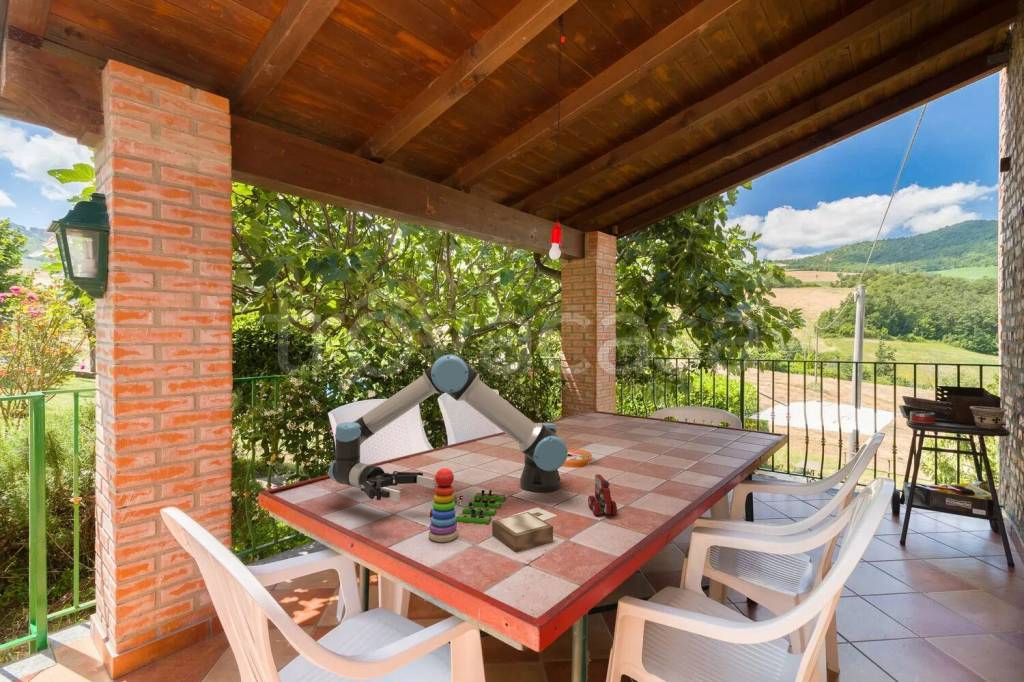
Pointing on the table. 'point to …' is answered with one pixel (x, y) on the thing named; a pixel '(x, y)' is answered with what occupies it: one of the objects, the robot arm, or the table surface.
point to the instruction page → (539, 513)
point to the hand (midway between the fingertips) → (417, 489)
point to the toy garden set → (479, 508)
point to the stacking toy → (443, 509)
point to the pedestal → (522, 531)
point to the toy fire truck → (602, 498)
